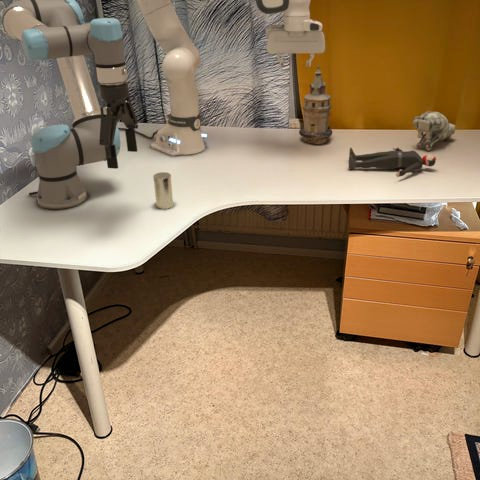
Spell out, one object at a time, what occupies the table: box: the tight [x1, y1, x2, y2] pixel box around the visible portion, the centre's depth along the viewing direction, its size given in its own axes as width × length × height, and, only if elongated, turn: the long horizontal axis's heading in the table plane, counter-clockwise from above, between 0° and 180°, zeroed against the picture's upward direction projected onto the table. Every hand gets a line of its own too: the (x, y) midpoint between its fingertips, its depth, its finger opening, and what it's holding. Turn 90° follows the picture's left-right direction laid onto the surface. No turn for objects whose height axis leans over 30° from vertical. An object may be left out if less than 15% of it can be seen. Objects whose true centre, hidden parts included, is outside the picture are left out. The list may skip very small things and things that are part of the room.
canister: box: [152, 171, 174, 210], centre depth 166 cm, size 5×5×10 cm
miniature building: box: [298, 65, 333, 145], centre depth 213 cm, size 13×14×30 cm
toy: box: [348, 146, 437, 178], centre depth 192 cm, size 26×6×30 cm
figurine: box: [412, 111, 456, 152], centre depth 210 cm, size 10×19×20 cm
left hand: (123, 159), depth 151 cm, fingers open, 13 cm apart
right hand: (294, 66), depth 189 cm, fingers open, 8 cm apart
